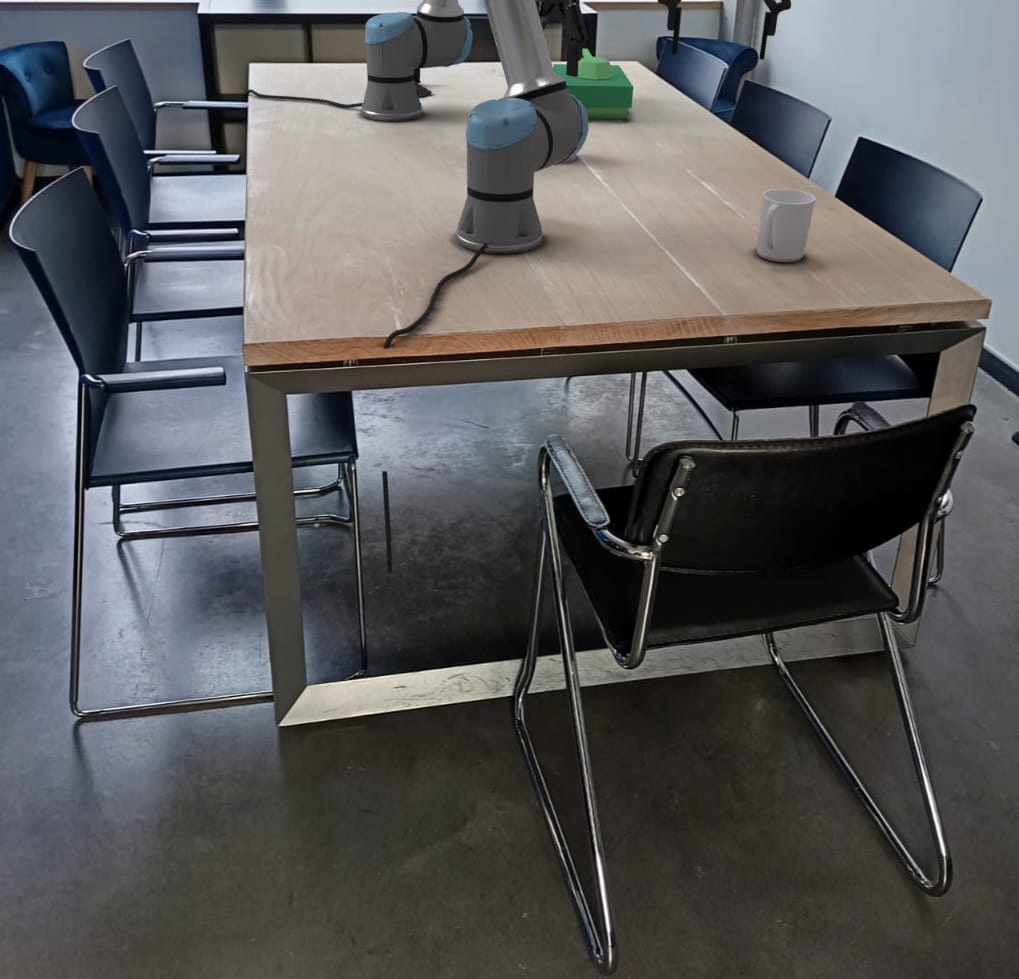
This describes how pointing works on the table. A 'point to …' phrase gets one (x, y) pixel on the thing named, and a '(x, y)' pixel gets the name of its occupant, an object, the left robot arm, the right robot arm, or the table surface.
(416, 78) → the axe head
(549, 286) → the table surface
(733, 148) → the table surface
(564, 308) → the table surface
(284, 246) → the table surface
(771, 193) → the mug
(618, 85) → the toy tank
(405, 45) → the left robot arm
